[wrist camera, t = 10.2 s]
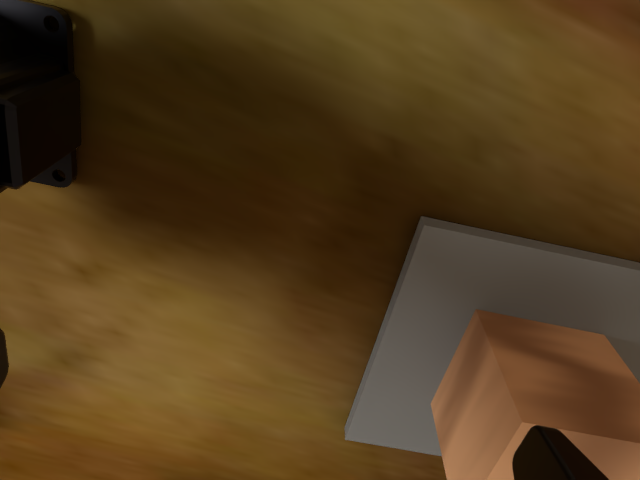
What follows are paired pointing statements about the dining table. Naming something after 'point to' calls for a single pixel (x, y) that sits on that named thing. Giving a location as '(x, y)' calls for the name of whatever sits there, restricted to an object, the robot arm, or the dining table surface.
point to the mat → (459, 306)
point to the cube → (535, 397)
